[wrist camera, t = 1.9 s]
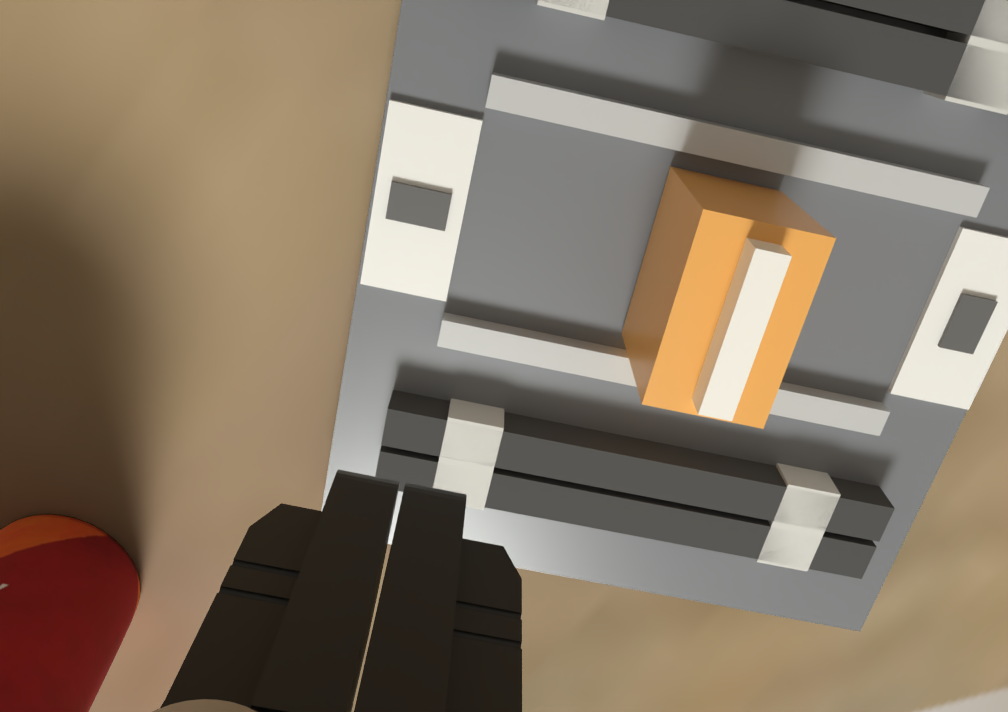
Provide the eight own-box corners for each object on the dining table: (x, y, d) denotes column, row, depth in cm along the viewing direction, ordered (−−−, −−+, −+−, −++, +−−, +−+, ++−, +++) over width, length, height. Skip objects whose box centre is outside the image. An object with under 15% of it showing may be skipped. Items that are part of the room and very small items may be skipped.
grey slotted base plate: (493, -132, 23) (489, -149, 19) (1042, 2, 24) (1129, 9, 20) (389, 428, 29) (372, 489, 26) (821, 512, 30) (860, 582, 27)
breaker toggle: (670, 166, 23) (710, 219, 18) (780, 190, 23) (849, 249, 18) (621, 333, 25) (646, 420, 20) (723, 354, 25) (772, 445, 20)
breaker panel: (456, -271, 21) (447, -308, 18) (1144, -95, 23) (1233, -104, 20) (333, 488, 30) (314, 542, 27) (835, 582, 31) (866, 644, 29)
